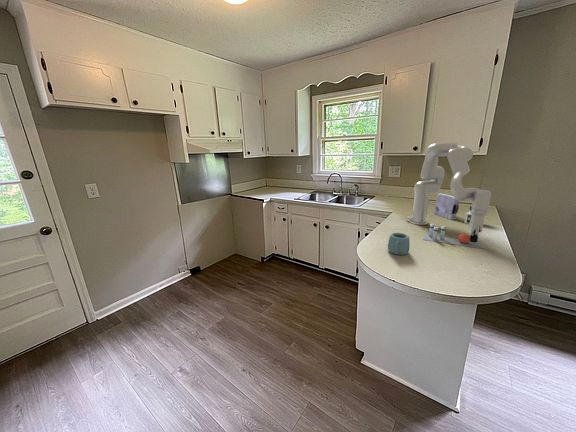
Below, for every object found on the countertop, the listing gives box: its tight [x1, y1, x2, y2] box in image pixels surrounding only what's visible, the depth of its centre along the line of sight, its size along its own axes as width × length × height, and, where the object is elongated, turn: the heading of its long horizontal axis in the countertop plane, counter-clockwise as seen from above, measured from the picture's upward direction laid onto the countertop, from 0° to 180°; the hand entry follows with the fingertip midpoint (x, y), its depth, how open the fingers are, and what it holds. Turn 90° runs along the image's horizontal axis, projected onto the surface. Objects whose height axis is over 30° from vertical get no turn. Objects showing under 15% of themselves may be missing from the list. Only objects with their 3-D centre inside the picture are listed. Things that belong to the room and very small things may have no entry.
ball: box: [457, 232, 471, 244], centre depth 143 cm, size 6×6×6 cm
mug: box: [387, 232, 410, 256], centre depth 132 cm, size 15×11×10 cm
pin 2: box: [432, 226, 439, 242], centre depth 148 cm, size 2×2×8 cm
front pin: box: [439, 225, 447, 240], centre depth 149 cm, size 2×2×8 cm
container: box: [464, 205, 472, 225], centre depth 177 cm, size 8×8×13 cm
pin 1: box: [428, 223, 436, 237], centre depth 154 cm, size 2×2×8 cm
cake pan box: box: [433, 192, 460, 221], centre depth 194 cm, size 19×5×18 cm, turn 9°
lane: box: [422, 234, 484, 249], centre depth 148 cm, size 30×10×1 cm, turn 60°
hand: (473, 241), depth 142 cm, fingers closed
